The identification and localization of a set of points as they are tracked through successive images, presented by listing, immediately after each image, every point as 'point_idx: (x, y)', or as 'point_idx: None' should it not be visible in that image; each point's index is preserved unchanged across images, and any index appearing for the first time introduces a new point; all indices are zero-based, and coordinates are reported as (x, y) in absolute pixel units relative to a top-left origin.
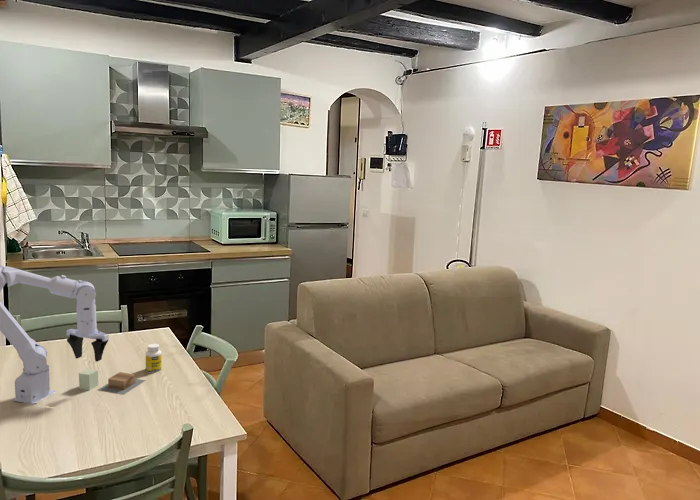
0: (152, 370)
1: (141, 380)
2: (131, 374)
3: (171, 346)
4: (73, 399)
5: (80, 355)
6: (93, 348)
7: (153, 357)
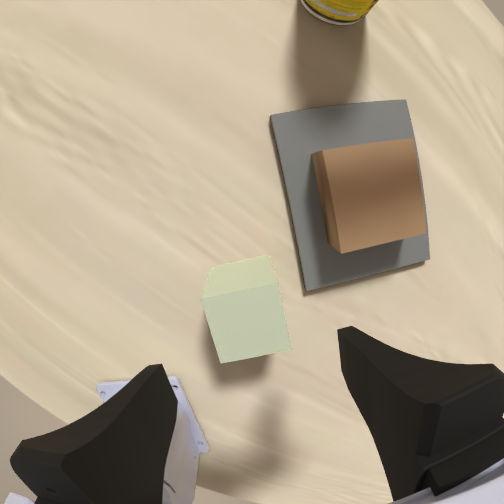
0: (362, 16)
1: (392, 108)
2: (397, 145)
3: None
4: (281, 377)
5: (164, 382)
6: (384, 467)
7: None
